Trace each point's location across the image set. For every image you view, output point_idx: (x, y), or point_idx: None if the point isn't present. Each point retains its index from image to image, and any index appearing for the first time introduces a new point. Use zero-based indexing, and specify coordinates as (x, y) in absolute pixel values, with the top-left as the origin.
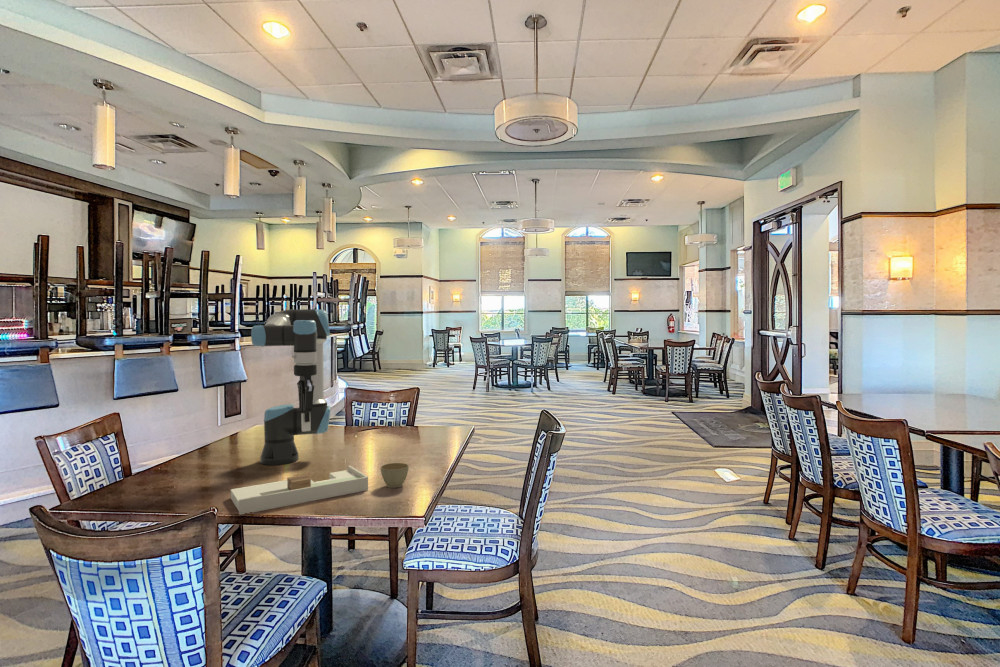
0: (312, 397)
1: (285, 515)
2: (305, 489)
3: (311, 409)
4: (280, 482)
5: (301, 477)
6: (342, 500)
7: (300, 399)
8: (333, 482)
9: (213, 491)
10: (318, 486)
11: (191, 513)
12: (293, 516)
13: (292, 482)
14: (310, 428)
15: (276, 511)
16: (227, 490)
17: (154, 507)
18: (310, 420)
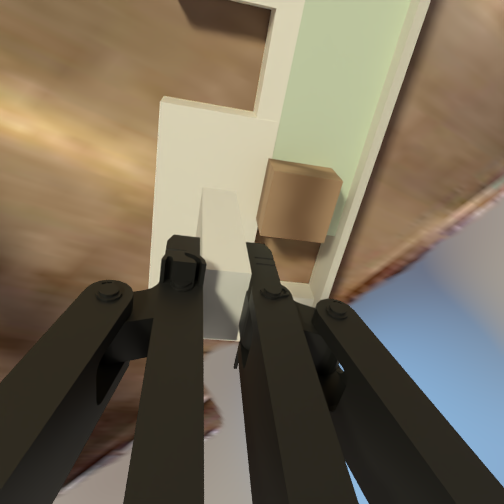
0: (484, 476)
1: (394, 264)
2: (359, 203)
3: (356, 326)
4: (172, 212)
5: (298, 198)
6: (434, 90)
7: (73, 454)
8: (325, 58)
9: (45, 332)
10: (374, 160)
11: (207, 390)
12: (417, 253)
13: (324, 240)
14: (235, 199)
15: (348, 269)
16: (58, 306)
17: (107, 428)
18: (242, 229)
